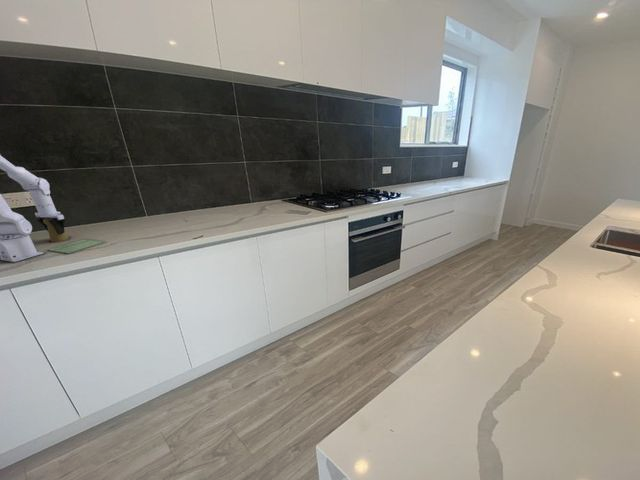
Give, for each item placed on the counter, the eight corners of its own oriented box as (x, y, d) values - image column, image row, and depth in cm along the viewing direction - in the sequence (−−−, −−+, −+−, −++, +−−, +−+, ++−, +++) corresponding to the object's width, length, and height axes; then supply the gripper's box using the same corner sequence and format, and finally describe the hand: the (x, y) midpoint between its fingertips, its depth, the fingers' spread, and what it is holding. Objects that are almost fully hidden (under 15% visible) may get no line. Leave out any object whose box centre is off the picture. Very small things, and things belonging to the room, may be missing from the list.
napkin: (68, 253, 128) (68, 252, 128) (48, 250, 131) (47, 249, 130) (103, 242, 141) (103, 241, 140) (84, 239, 143) (83, 238, 143)
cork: (52, 242, 139) (41, 219, 134) (49, 239, 142) (39, 217, 138) (69, 239, 143) (60, 217, 139) (66, 236, 147) (57, 214, 142)
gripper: (66, 203, 138) (78, 231, 143) (43, 201, 141) (55, 228, 146) (47, 207, 132) (60, 236, 137) (24, 204, 135) (37, 233, 140)
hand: (56, 232), depth 141 cm, fingers open, 5 cm apart
